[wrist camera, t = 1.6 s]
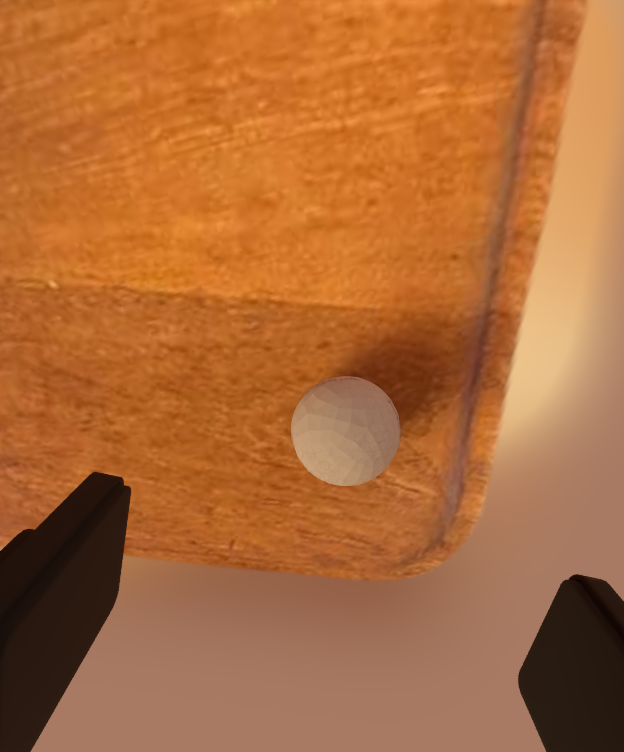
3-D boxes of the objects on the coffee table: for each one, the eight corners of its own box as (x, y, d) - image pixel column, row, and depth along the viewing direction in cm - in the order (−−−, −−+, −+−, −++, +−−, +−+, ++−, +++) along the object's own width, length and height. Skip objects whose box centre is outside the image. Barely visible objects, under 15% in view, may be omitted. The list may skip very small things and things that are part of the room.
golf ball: (413, 403, 18) (435, 448, 14) (350, 471, 19) (354, 529, 15) (337, 343, 18) (339, 372, 14) (276, 416, 19) (261, 462, 15)
